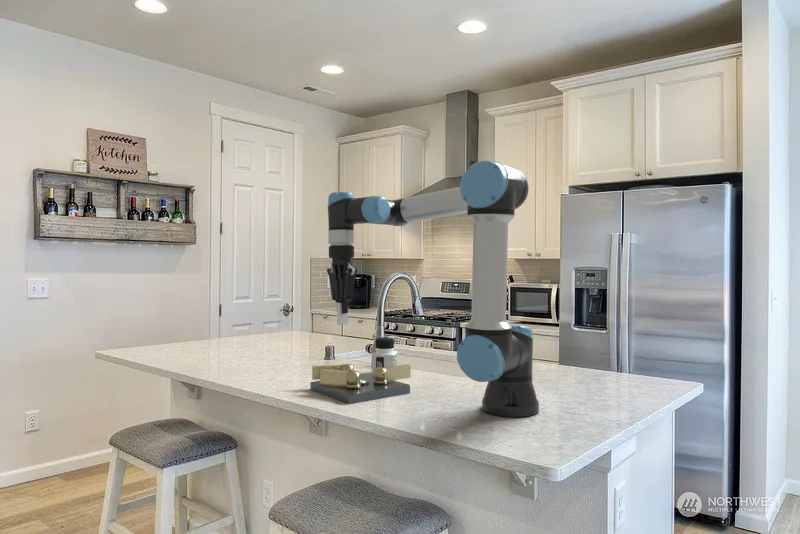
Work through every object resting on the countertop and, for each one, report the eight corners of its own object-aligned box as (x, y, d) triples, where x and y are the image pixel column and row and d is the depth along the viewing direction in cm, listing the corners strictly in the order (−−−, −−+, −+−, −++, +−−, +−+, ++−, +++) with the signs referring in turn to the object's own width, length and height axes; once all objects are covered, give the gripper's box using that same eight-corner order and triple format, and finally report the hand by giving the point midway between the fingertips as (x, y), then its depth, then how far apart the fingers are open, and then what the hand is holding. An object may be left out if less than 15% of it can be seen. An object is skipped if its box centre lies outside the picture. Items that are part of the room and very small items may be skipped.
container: (393, 376, 202) (393, 339, 201) (371, 376, 203) (371, 338, 203) (397, 372, 209) (397, 336, 209) (376, 371, 211) (376, 335, 210)
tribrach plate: (410, 393, 177) (410, 382, 177) (348, 403, 164) (348, 392, 164) (368, 381, 195) (368, 371, 195) (310, 390, 181) (310, 379, 181)
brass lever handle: (353, 377, 187) (353, 363, 187) (355, 379, 183) (355, 366, 183) (312, 378, 185) (312, 365, 185) (312, 381, 180) (312, 367, 180)
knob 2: (378, 384, 176) (378, 370, 176) (370, 382, 179) (370, 368, 179) (412, 379, 184) (412, 365, 184) (404, 376, 188) (404, 363, 187)
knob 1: (363, 386, 174) (363, 371, 174) (355, 389, 170) (355, 374, 170) (325, 382, 180) (325, 368, 180) (317, 384, 176) (317, 370, 176)
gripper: (364, 244, 170) (365, 325, 170) (340, 245, 180) (341, 322, 180) (342, 243, 165) (343, 327, 165) (319, 245, 176) (320, 323, 176)
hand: (342, 324), depth 173 cm, fingers closed
